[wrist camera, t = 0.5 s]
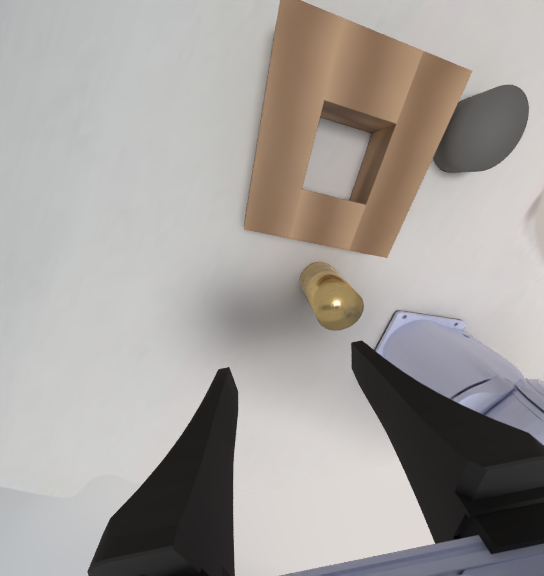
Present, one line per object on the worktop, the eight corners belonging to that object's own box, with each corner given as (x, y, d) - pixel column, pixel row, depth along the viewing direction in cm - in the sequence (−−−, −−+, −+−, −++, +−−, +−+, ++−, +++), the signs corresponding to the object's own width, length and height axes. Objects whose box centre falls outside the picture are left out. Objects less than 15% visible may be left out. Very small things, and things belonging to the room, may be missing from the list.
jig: (434, 90, 16) (472, 71, 13) (369, 248, 21) (387, 257, 18) (275, 30, 14) (281, -8, 11) (244, 222, 19) (243, 229, 16)
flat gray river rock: (505, 108, 17) (544, 97, 15) (468, 178, 19) (497, 178, 17) (452, 88, 16) (486, 73, 14) (419, 164, 18) (443, 162, 16)
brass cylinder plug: (340, 265, 21) (371, 293, 16) (328, 297, 23) (353, 332, 17) (305, 259, 21) (325, 286, 15) (295, 292, 22) (311, 327, 17)
